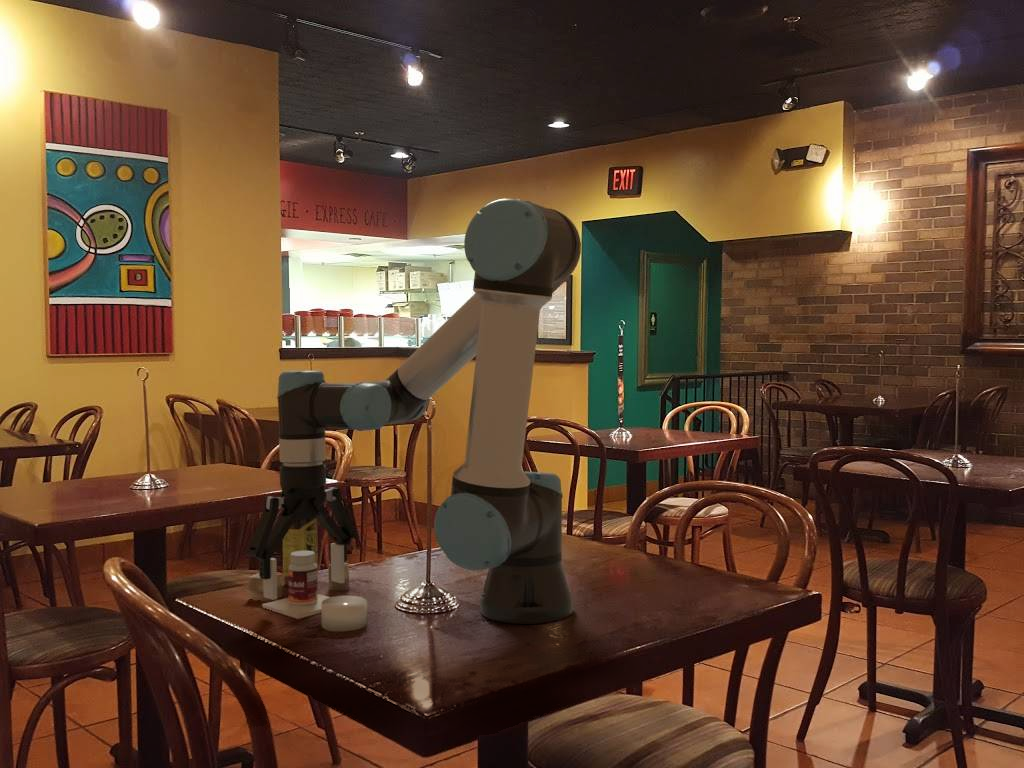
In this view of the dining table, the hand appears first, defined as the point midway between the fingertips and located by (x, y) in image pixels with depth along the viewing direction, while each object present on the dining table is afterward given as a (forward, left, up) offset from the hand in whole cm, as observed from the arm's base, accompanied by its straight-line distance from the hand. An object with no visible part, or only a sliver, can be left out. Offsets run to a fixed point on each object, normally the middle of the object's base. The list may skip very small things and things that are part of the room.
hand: (305, 589), depth 158 cm
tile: (0, 0, -3) cm, 3 cm away
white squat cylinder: (-13, +2, -3) cm, 13 cm away
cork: (+5, -11, -3) cm, 12 cm away
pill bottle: (+1, 0, -2) cm, 2 cm away
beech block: (+10, +1, -3) cm, 11 cm away
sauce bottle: (+13, -9, -3) cm, 16 cm away
